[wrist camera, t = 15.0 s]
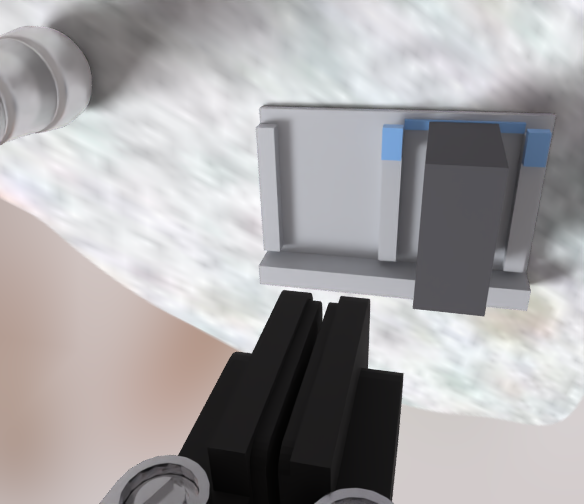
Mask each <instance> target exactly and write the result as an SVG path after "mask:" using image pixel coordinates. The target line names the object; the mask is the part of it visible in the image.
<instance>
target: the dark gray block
mask: <svg viewBox="0 0 584 504" xmlns="http://www.w3.org/2000/svg"><path fill="white" fill-rule="evenodd" d="M508 170H509V166H508V162H507V158H506V153H505V149H504V145H503V140H502V136H501V132H500V127H499V124H488V123H458V122H429V131H428V140H427V149H426V159H425V169H424V181H423V193H422V205H421V217H420V229H419V241H418V252H417V264H416V276H415V288H414V300H413V309H420V310H430V311H439V312H448V313H458V314H467V315H477V316H484V315H485V309H486V303H487V297H488V291H489V285H490V279H491V273H492V267H493V261H494V255H495V249H496V243H497V237H498V231H499V225H500V219H501V213H502V207H503V201H504V195H505V189H506V182H507V176H508Z"/></svg>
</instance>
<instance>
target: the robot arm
mask: <svg viewBox="0 0 584 504" xmlns="http://www.w3.org/2000/svg"><path fill="white" fill-rule="evenodd" d="M369 324H370V299H365V298H356V297H346V296H341V297H340V300H339V303H331V302H330V303H329V304H328V307H327V310H326V313H325V316H324V319H323V322H322V302H321V301H313V297H312V294H311V293H307V292H297V291H287V290H283V291H282V292H281V294H280V296H279V298H278V300H277V302H276V304H275V307H274V309H273V311H272V313H271V315H270V317H269V319H268V321H267V323H266V325H265V327H264V329H263V332H262V334H261V336H260V338H259V340H258V342H257V344H256V346H255V348H254V350H253V352H252V354H251V353H244V352H235V353H233V354H232V356H231V357H230V359H229V361H228V362H227V364H226V366H225V368H224V370H223V372H222V373H221V376H220V378H219V379H218V381H217V383H216V385H215V387H214V389H213V390H212V393H211V394H210V396H209V398H208V400H207V402H206V404H205V406H204V407H203V409H202V411H201V413H200V415H199V417H198V419H197V421H196V423H195V425H194V427H193V428H192V430H191V432H190V434H189V436H188V438H187V440H186V442H185V443H184V445H183V447H182V449H181V451H180V453H179V455H178V456H176V455H167V456H157V457H154V458H151V459H148V460H145V461H143V462H141V463H139V464H137V465H136V466H134V467H132V468H131V469H130V470H128V471H127V472H126V473H125V474H124V475H123V476H122V477H121V478H120V479H119V480H118V481H117V482H116V484H115V485H114V486H113V487H112V488H111V490H110V491H109V492H108V493H107V495H106V496H105V497H104V498H103V500H102V501H101V502H100V503H99V504H394V503H393V502H392V496H393V485H394V476H395V466H396V457H397V447H398V436H399V424H400V414H401V401H402V388H403V373H397V372H389V371H382V370H374V369H368V351H369Z"/></svg>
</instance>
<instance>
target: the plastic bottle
mask: <svg viewBox="0 0 584 504" xmlns="http://www.w3.org/2000/svg"><path fill="white" fill-rule="evenodd" d="M91 94H92V74H91V70H90V66H89V64H88V61H87V59H86V57H85V56H84V54H83V52H82V51H81V50H80V48H79V47H78V46H77V45H76V44H75V43H74V42H73V41H72V40H71V39H70V38H69V37H68V36H66V35H65V34H63V33H61V32H60V31H57V30H55V29H52V28H47V27H36V26H25V27H20V28H17V29H14V30H12V31H10V32H8V33H5V34H3V35H1V36H0V145H2V144H3V143H5V142H8V141H11V140H14V139H17V138H20V137H24V136H27V135H30V134H33V133H41V132H47V131H51V130H55V129H58V128H62V127H65V126H67V125H68V124H70V123H71V122H73V121H74V120H75V119H76V118H77V117H78V116H79V115H80V114H81V113H82V112H83V111H84V110H85V109H86V107H87V105H88V104H89V101H90V98H91Z"/></svg>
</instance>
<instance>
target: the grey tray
mask: <svg viewBox="0 0 584 504" xmlns="http://www.w3.org/2000/svg"><path fill="white" fill-rule="evenodd" d="M259 112H260V124H259V125H258V126H257V127H256V138H257V153H258V168H259V184H260V199H261V214H262V229H263V244H264V250H266V251H267V253H266V254H265V256H264V258H263V260H262V261H261V263H260V265H259V276H260V284H266V285H275V286H285V287H295V288H305V289H315V290H325V291H335V292H345V293H355V294H365V295H375V296H385V297H395V298H405V299H414V288H415V276H416V264H417V252H418V241H419V229H420V217H421V205H422V193H423V181H424V169H425V159H426V149H427V140H428V131H429V122H458V123H488V124H499V127H500V132H501V136H502V140H503V145H504V149H505V153H506V158H507V162H508V166H509V170H508V176H507V182H506V189H505V195H504V201H503V207H502V213H501V219H500V225H499V231H498V237H497V243H496V249H495V255H494V261H493V267H492V273H491V279H490V285H489V291H488V297H487V303H486V307H494V308H504V309H514V310H524V311H527V308H528V303H529V298H530V293H531V290H530V285H529V281H528V277H527V273H526V272H527V266H528V261H529V256H530V251H531V245H532V240H533V235H534V229H535V224H536V219H537V214H538V208H539V203H540V198H541V193H542V187H543V182H544V177H545V172H546V166H547V161H548V156H549V150H550V145H551V140H552V135H553V129H554V124H555V119H556V115H555V114H549V113H510V112H471V111H432V110H393V109H354V108H315V107H276V106H261V107H260V108H259Z"/></svg>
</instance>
